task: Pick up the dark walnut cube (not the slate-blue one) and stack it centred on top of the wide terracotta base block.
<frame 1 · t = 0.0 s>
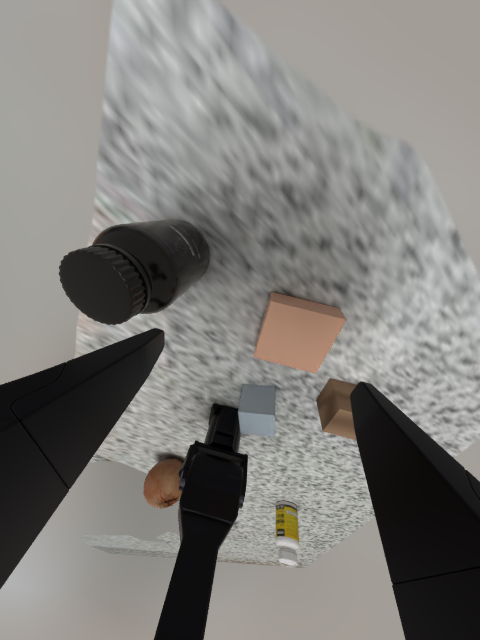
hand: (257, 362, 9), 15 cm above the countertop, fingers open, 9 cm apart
slate-blue cube: (259, 395, 32), on the countertop
supplement bottle: (181, 252, 22), on the countertop
walnut cube: (339, 393, 29), on the countertop
onion: (175, 460, 49), on the countertop
base block: (293, 326, 25), on the countertop
supplement bottle 2: (286, 503, 52), on the countertop
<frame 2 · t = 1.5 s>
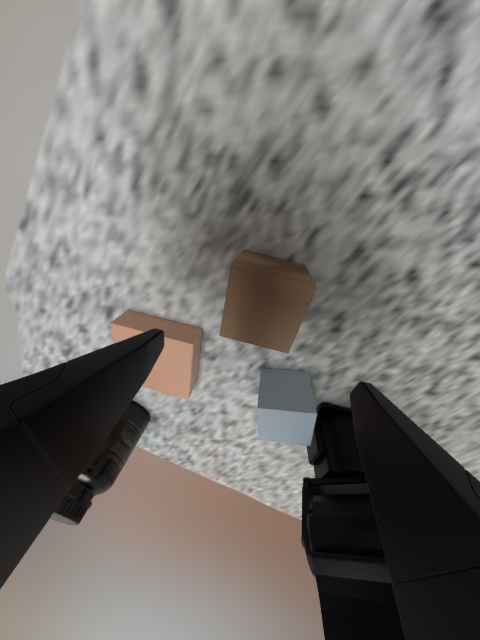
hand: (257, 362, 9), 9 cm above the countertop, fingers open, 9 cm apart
slate-blue cube: (283, 385, 22), on the countertop
supplement bottle: (130, 410, 30), on the countertop
walnut cube: (265, 286, 17), on the countertop
base block: (167, 346, 22), on the countertop
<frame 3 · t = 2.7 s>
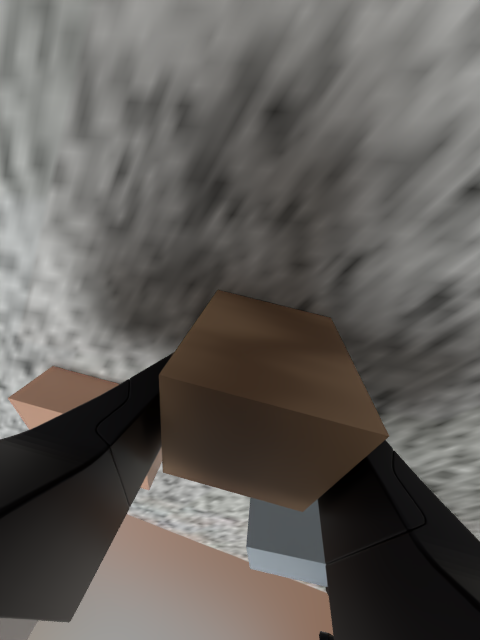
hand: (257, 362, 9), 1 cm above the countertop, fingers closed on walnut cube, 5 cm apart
slate-blue cube: (287, 468, 15), on the countertop
walnut cube: (259, 347, 10), on the countertop, touching gripper
base block: (119, 410, 16), on the countertop
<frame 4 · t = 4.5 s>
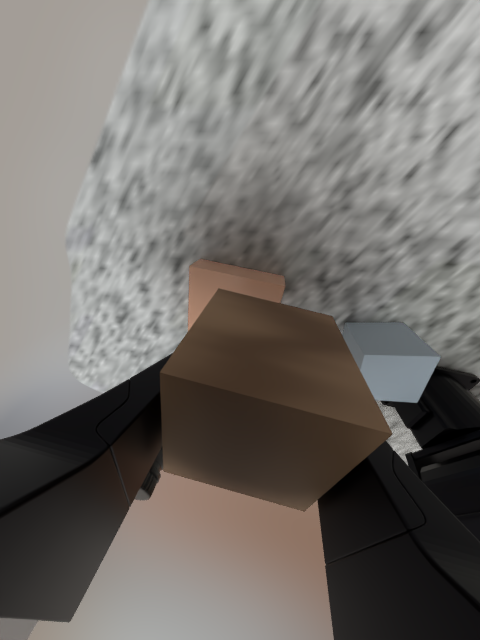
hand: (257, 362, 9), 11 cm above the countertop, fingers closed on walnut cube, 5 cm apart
slate-blue cube: (367, 342, 20), on the countertop
supplement bottle: (181, 386, 28), on the countertop
walnut cube: (260, 346, 10), point 10 cm above the countertop, touching gripper
base block: (235, 303, 20), on the countertop
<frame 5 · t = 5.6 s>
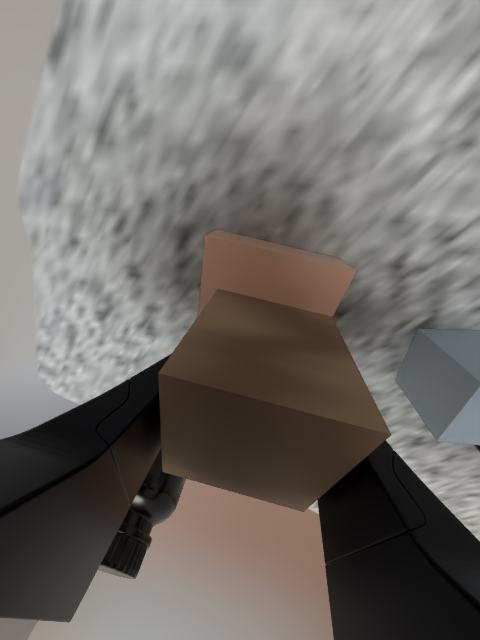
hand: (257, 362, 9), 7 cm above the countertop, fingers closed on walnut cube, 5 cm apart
slate-blue cube: (442, 357, 14), on the countertop
supplement bottle: (180, 401, 23), on the countertop
walnut cube: (259, 346, 10), point 5 cm above the countertop, touching gripper
base block: (263, 298, 15), on the countertop
when the fingers open (5 cm above the countertop, at t = 6.2 s): walnut cube drops 2 cm, point 3 cm above the countertop.
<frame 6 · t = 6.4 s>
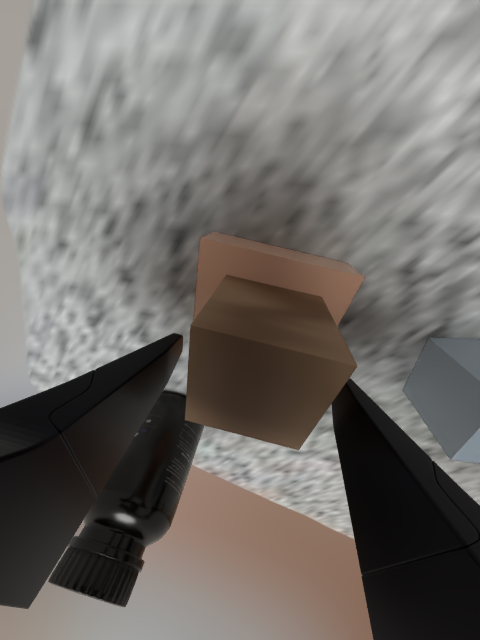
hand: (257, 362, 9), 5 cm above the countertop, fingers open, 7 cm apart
slate-blue cube: (454, 367, 14), on the countertop
supplement bottle: (177, 409, 22), on the countertop
walnut cube: (262, 325, 11), point 3 cm above the countertop
base block: (263, 303, 14), on the countertop
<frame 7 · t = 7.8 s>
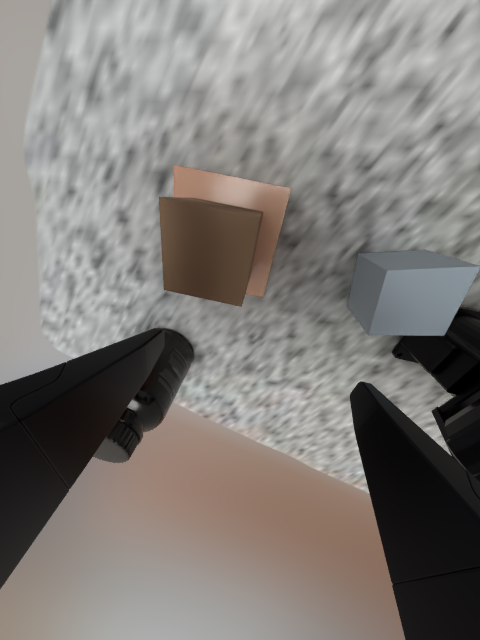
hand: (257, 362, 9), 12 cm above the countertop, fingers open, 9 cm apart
slate-blue cube: (381, 280, 17), on the countertop
supplement bottle: (169, 348, 25), on the countertop
walnut cube: (224, 241, 15), point 3 cm above the countertop
base block: (231, 234, 18), on the countertop
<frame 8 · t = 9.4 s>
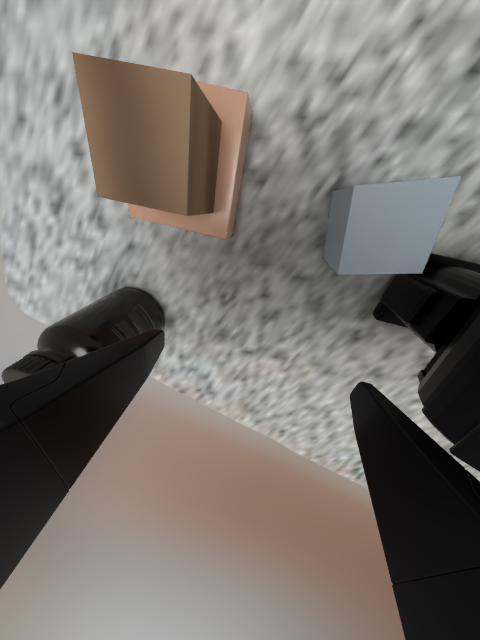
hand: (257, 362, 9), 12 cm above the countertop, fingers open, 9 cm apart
slate-blue cube: (359, 225, 16), on the countertop
supplement bottle: (139, 312, 24), on the countertop
walnut cube: (181, 164, 13), point 3 cm above the countertop, touching base block
base block: (194, 171, 16), on the countertop, touching walnut cube
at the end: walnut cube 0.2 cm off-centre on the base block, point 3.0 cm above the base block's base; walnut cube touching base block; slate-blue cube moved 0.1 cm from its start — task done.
